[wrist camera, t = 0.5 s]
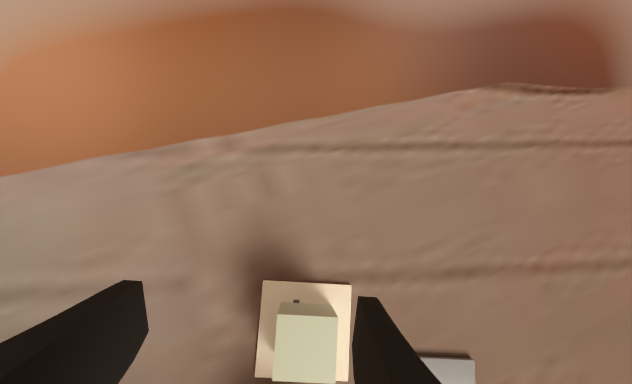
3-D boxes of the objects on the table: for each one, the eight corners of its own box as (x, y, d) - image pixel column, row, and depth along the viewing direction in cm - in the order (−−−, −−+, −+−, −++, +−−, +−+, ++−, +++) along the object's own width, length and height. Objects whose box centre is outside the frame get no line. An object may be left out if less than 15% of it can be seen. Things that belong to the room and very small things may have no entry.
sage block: (328, 358, 31) (335, 383, 25) (277, 355, 31) (272, 380, 25) (330, 304, 32) (338, 317, 26) (281, 302, 32) (277, 314, 26)
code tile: (347, 380, 31) (347, 381, 31) (255, 376, 31) (254, 377, 30) (350, 285, 33) (351, 285, 32) (263, 280, 32) (262, 280, 32)
